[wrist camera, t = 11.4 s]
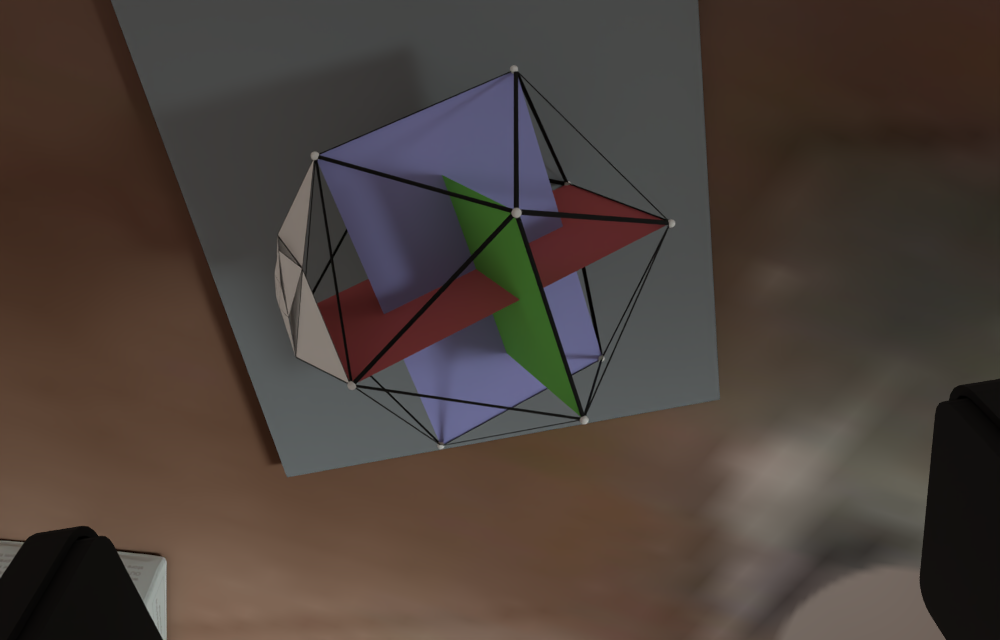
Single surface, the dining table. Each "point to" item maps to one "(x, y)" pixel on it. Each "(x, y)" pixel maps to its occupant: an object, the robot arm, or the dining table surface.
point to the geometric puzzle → (458, 261)
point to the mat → (398, 93)
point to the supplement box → (142, 570)
